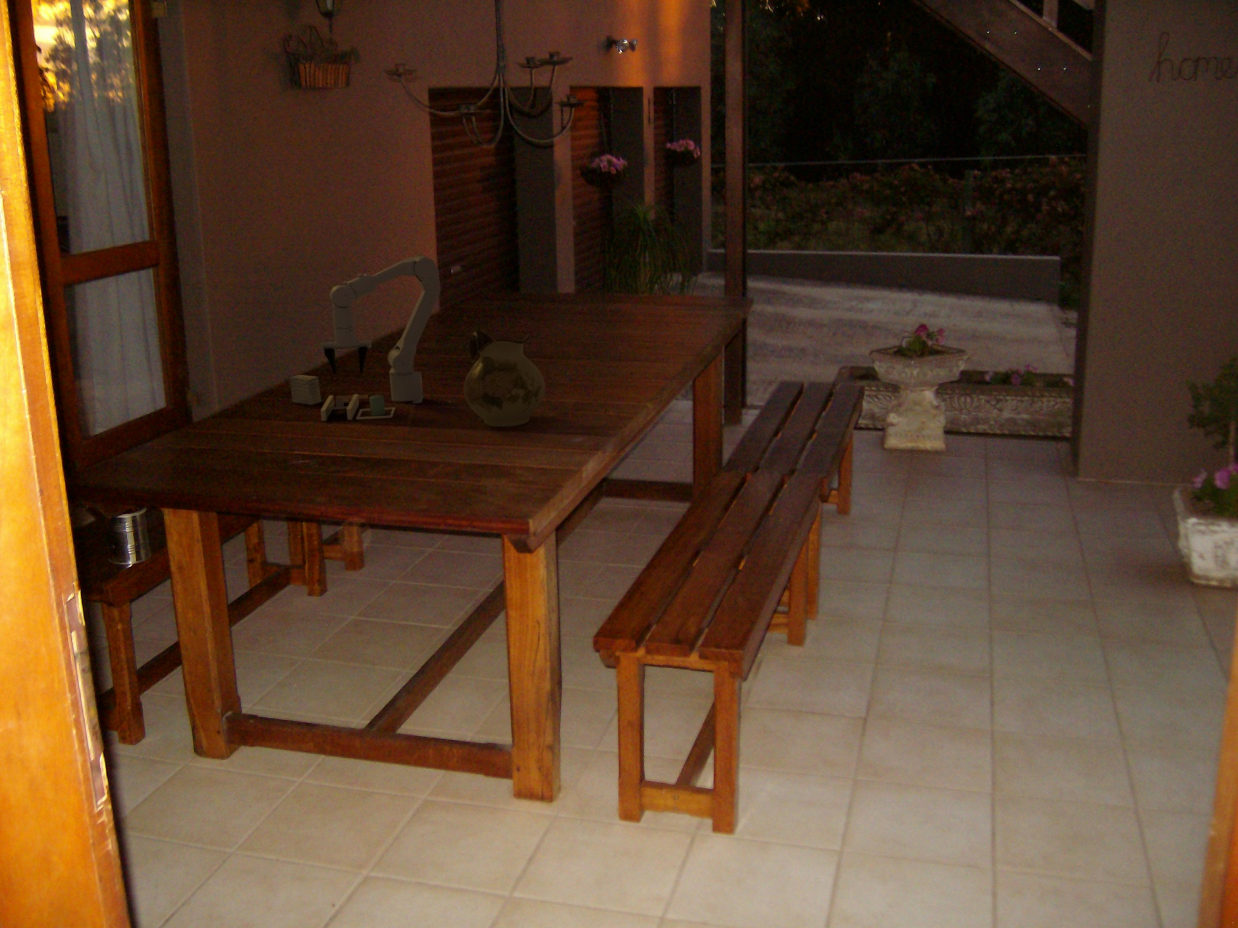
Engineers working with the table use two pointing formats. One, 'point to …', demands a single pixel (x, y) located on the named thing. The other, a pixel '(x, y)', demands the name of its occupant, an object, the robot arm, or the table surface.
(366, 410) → the tray
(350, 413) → the beige h-shaped piece
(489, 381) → the pitcher
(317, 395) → the medicine box
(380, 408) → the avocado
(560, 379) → the table surface
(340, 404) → the lever
